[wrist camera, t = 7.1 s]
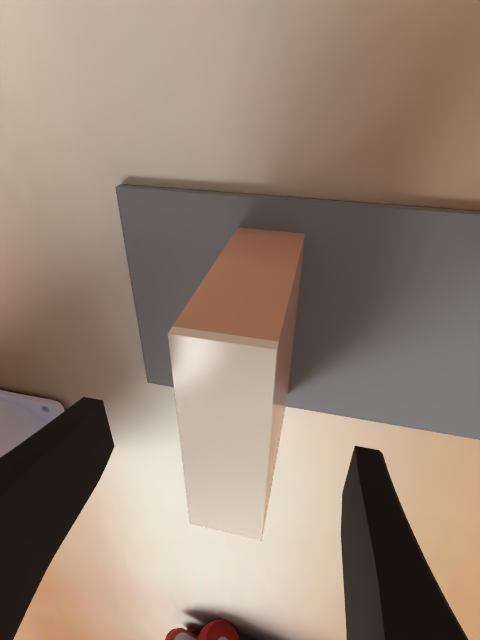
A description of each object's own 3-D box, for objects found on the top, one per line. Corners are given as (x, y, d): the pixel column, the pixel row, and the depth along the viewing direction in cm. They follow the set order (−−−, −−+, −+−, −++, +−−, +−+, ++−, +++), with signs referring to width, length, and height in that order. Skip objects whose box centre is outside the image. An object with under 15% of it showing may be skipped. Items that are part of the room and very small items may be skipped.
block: (236, 385, 19) (189, 523, 13) (237, 227, 14) (167, 333, 9) (287, 393, 18) (261, 540, 13) (305, 233, 14) (276, 349, 8)
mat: (151, 377, 21) (147, 382, 20) (120, 184, 15) (115, 187, 15) (526, 441, 17) (529, 448, 17) (663, 224, 12) (673, 229, 11)
